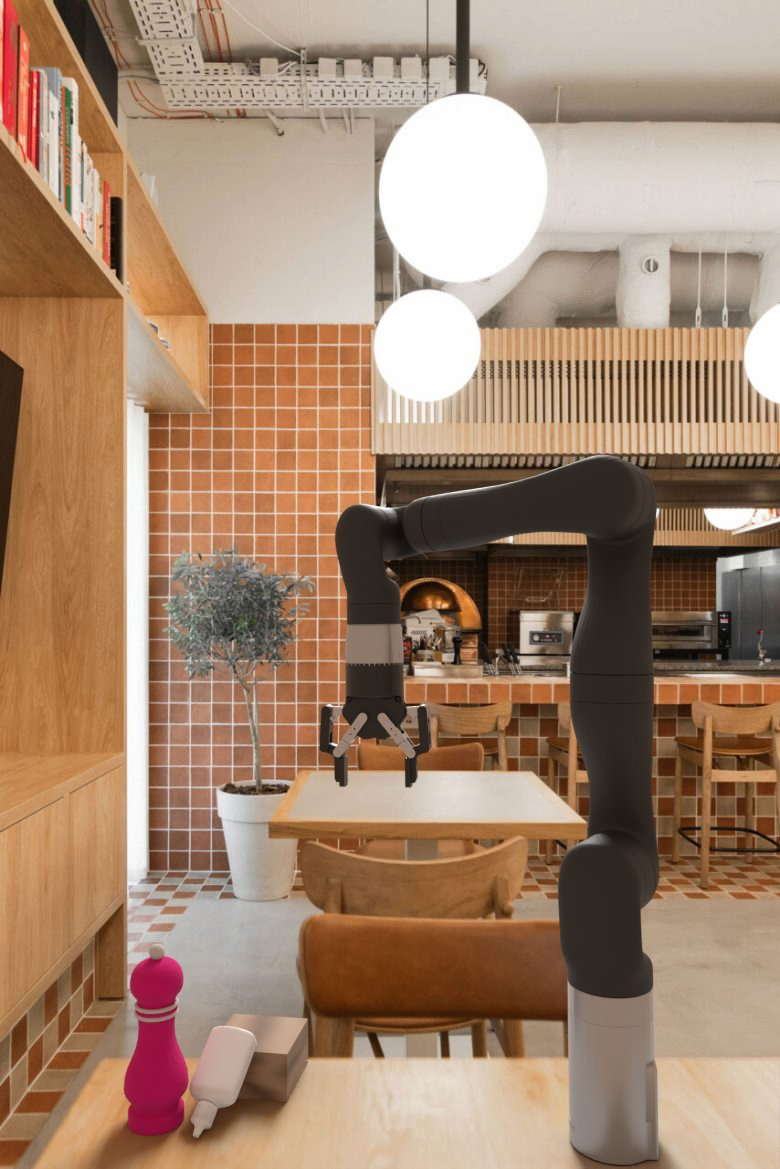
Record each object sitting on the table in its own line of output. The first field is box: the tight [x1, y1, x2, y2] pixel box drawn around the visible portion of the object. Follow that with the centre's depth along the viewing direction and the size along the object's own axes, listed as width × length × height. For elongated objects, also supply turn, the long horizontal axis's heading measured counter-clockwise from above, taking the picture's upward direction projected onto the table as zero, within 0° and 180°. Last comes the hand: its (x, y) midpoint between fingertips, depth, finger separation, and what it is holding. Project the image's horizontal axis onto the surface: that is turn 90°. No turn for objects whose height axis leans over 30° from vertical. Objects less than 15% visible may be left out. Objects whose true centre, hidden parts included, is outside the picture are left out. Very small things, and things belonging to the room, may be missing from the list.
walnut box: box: [223, 1013, 309, 1103], centre depth 116 cm, size 10×10×6 cm
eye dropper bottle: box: [188, 1025, 257, 1139], centre depth 108 cm, size 4×6×12 cm
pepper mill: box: [123, 943, 190, 1137], centre depth 107 cm, size 7×7×20 cm
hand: (375, 786), depth 120 cm, fingers open, 8 cm apart
